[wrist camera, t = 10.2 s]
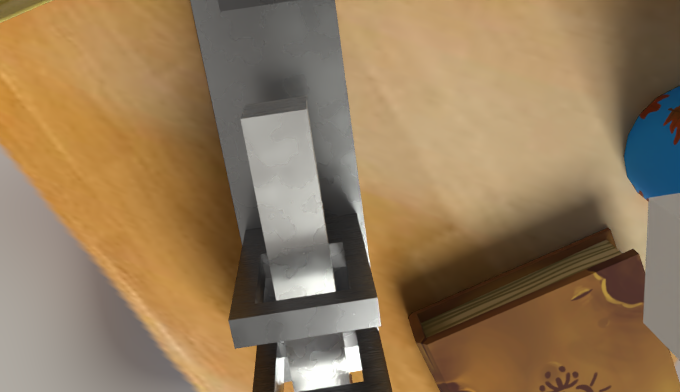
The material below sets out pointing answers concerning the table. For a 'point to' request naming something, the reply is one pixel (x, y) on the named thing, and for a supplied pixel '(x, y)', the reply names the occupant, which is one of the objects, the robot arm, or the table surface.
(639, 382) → the diary
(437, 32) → the table surface
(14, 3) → the saucer
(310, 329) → the grey slotted frame stand
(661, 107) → the thermos
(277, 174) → the light grey square rod
